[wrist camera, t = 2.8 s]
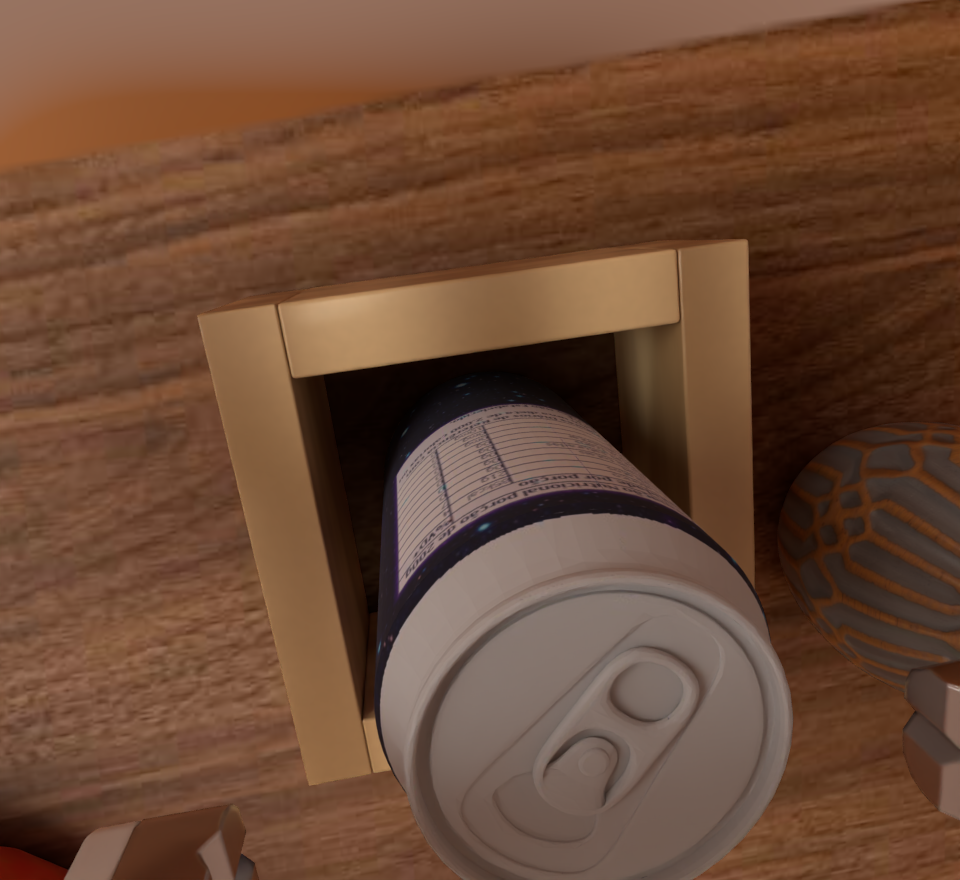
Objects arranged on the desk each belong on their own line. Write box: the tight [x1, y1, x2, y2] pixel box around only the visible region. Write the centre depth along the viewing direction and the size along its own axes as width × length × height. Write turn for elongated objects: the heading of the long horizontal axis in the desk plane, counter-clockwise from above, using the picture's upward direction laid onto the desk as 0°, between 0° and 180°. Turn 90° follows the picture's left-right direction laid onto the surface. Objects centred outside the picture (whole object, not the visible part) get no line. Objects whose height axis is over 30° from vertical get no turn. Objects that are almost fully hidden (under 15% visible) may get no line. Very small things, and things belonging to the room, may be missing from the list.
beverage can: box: [374, 372, 793, 880], centre depth 14 cm, size 6×6×12 cm
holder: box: [197, 239, 755, 785], centre depth 18 cm, size 11×11×5 cm
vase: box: [777, 422, 960, 693], centre depth 18 cm, size 7×7×9 cm
